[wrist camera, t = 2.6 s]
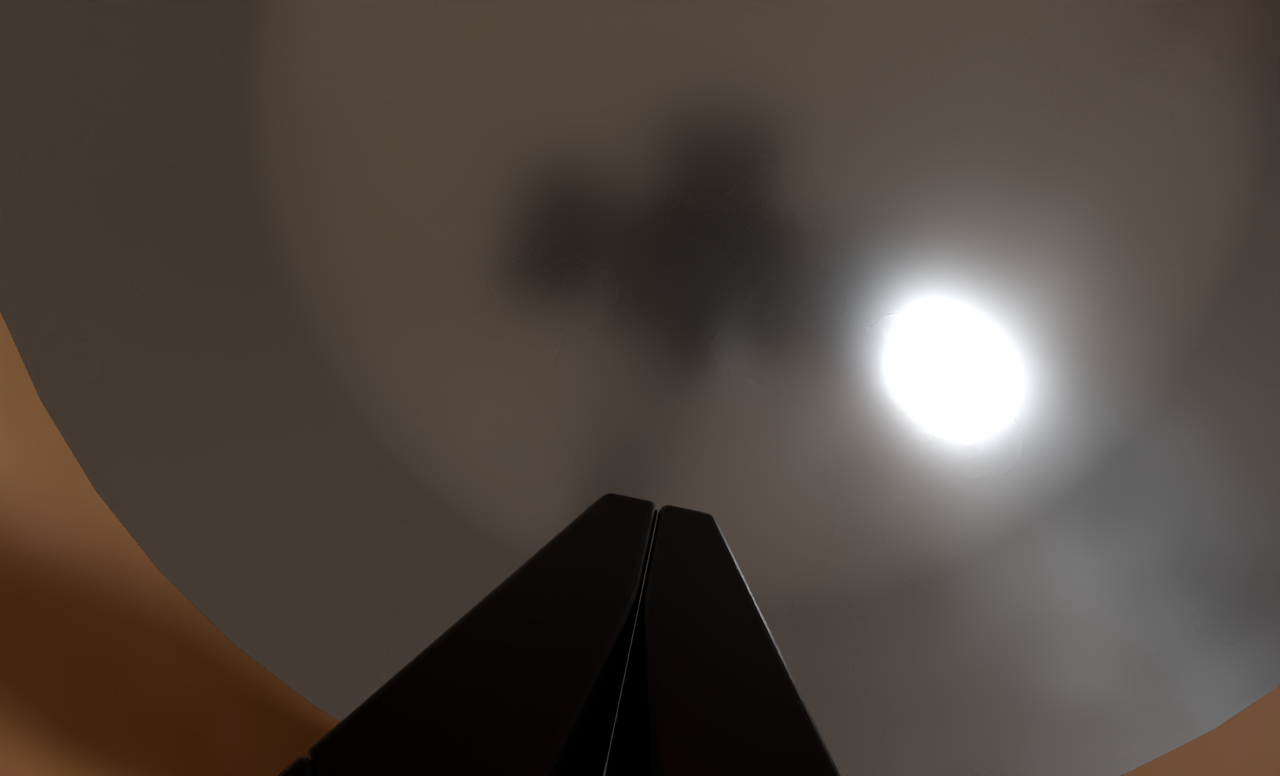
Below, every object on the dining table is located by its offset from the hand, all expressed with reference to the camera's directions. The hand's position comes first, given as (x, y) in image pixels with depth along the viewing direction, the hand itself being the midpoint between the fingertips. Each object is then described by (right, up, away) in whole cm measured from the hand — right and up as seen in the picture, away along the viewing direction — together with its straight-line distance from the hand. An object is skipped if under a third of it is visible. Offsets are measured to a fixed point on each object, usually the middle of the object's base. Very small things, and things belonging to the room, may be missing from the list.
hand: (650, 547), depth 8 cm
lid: (+1, +5, +2) cm, 5 cm away
